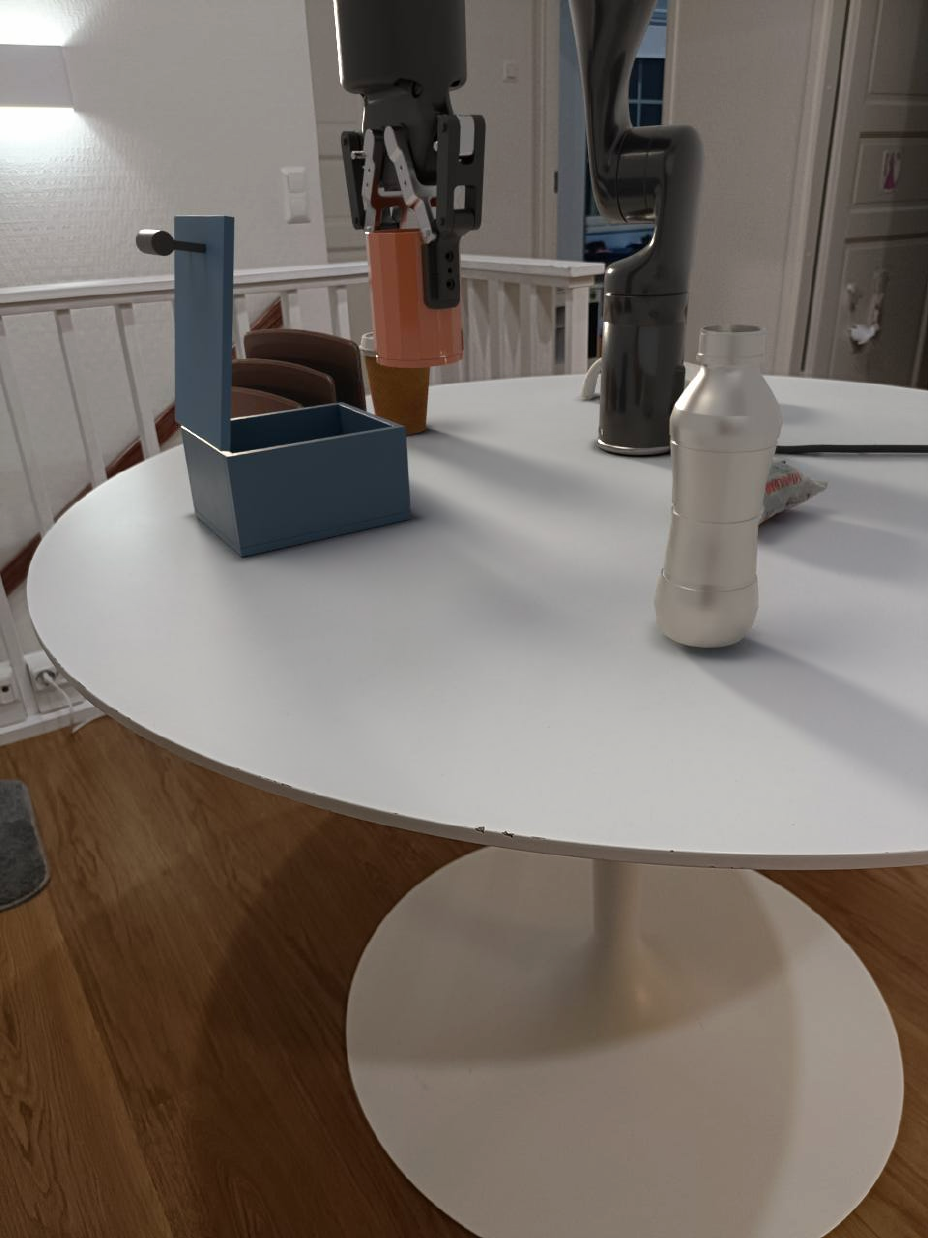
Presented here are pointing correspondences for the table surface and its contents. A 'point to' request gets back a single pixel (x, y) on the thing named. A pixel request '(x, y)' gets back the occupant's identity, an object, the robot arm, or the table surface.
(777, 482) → the packaged food
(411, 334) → the cup
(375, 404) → the disposable coffee cup
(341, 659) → the table surface
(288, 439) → the dark blue rectangular box
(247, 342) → the letter holder
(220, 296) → the lid
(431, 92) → the robot arm
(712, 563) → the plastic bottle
